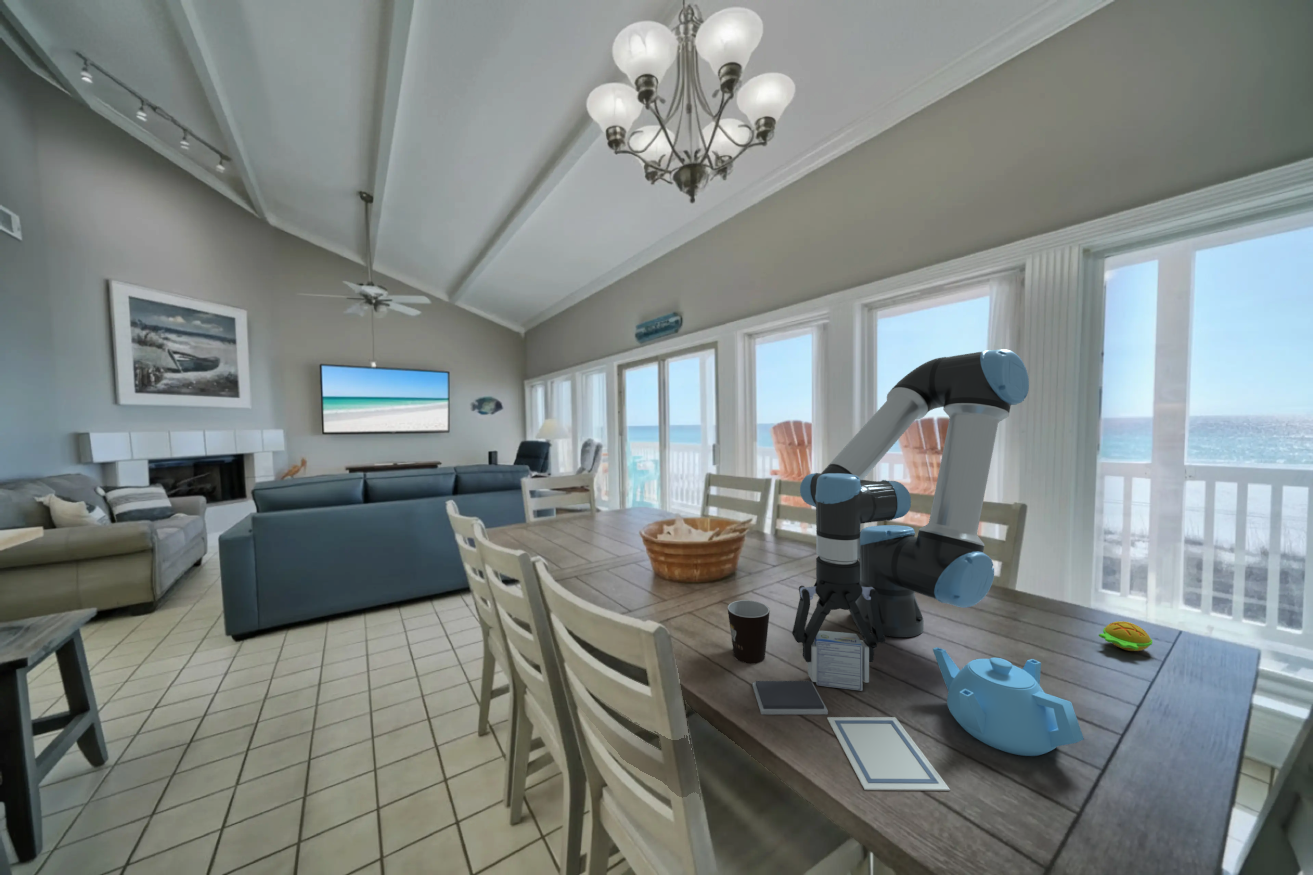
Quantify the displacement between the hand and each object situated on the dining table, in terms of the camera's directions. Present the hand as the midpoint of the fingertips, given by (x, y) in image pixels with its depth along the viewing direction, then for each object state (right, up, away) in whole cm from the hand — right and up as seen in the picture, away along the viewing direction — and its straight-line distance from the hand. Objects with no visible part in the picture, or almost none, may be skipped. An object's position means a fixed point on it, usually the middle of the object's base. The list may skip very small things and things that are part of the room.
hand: (837, 677), depth 81 cm
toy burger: (+63, +1, +9) cm, 63 cm away
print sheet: (-1, -1, -17) cm, 17 cm away
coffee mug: (-14, -1, +12) cm, 18 cm away
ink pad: (-11, -1, -5) cm, 12 cm away
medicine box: (0, -1, 0) cm, 1 cm away
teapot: (+20, -1, -13) cm, 24 cm away
